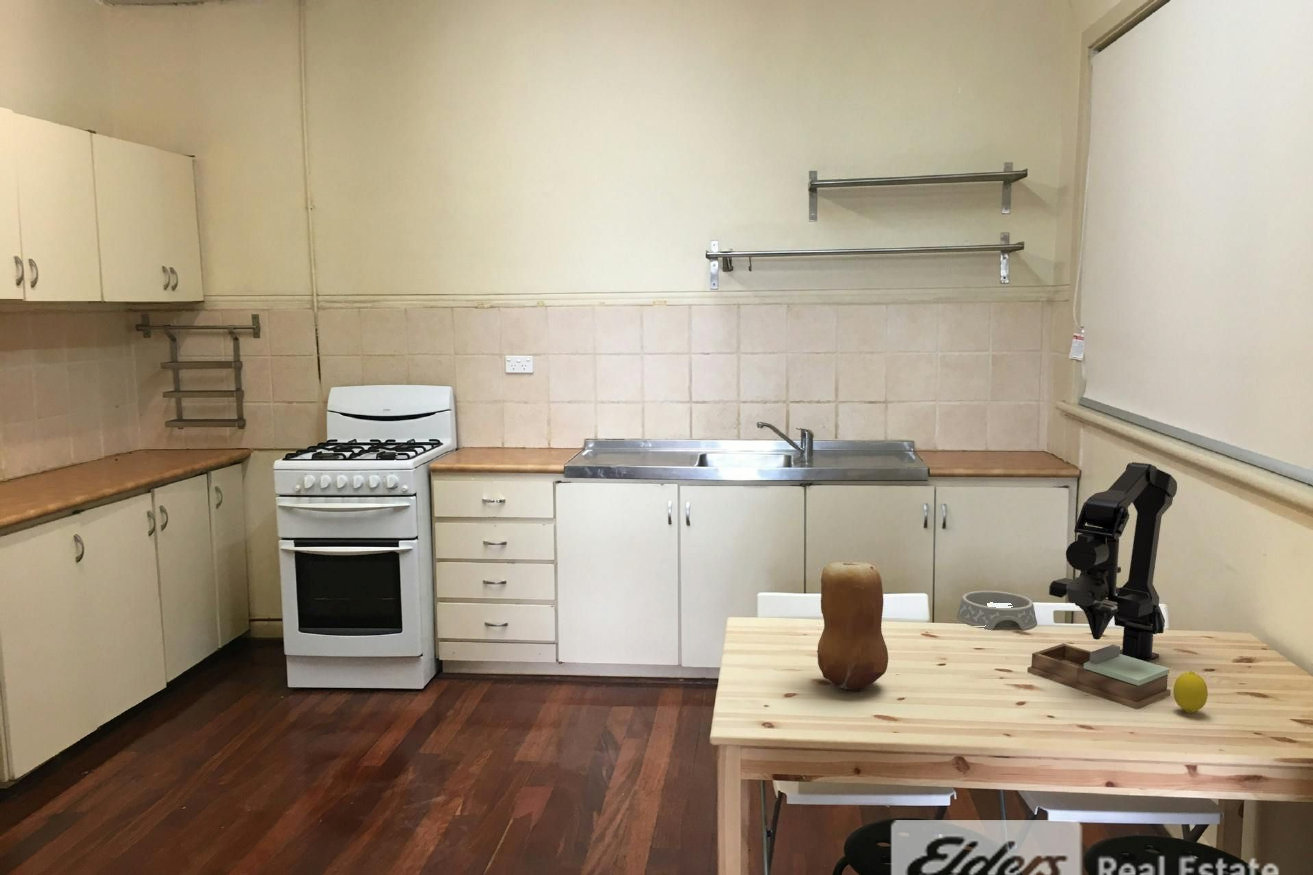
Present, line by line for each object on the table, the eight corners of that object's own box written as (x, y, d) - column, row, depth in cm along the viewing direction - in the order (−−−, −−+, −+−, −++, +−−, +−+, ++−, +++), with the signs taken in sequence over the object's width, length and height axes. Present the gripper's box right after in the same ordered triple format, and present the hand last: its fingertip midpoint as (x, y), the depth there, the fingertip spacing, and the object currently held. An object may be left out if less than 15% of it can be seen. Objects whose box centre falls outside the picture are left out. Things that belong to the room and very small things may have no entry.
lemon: (1197, 707, 185) (1201, 666, 184) (1211, 719, 179) (1214, 677, 178) (1166, 706, 185) (1169, 665, 184) (1179, 718, 180) (1182, 676, 179)
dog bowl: (948, 609, 246) (949, 588, 246) (1023, 610, 246) (1024, 589, 245) (967, 631, 229) (968, 608, 229) (1048, 632, 229) (1049, 609, 228)
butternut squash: (842, 670, 203) (846, 550, 200) (900, 687, 194) (904, 562, 191) (801, 687, 194) (804, 562, 190) (859, 707, 184) (863, 575, 181)
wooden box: (1027, 672, 203) (1028, 653, 202) (1061, 660, 209) (1062, 642, 209) (1136, 708, 184) (1138, 688, 183) (1170, 694, 191) (1171, 674, 190)
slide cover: (1083, 668, 193) (1084, 653, 192) (1114, 657, 199) (1115, 642, 199) (1138, 685, 184) (1139, 670, 183) (1169, 673, 190) (1170, 658, 190)
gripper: (1034, 557, 197) (1030, 633, 199) (1125, 578, 182) (1119, 660, 184) (1067, 550, 203) (1062, 624, 205) (1157, 569, 188) (1151, 649, 190)
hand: (1096, 638), depth 196 cm, fingers closed
